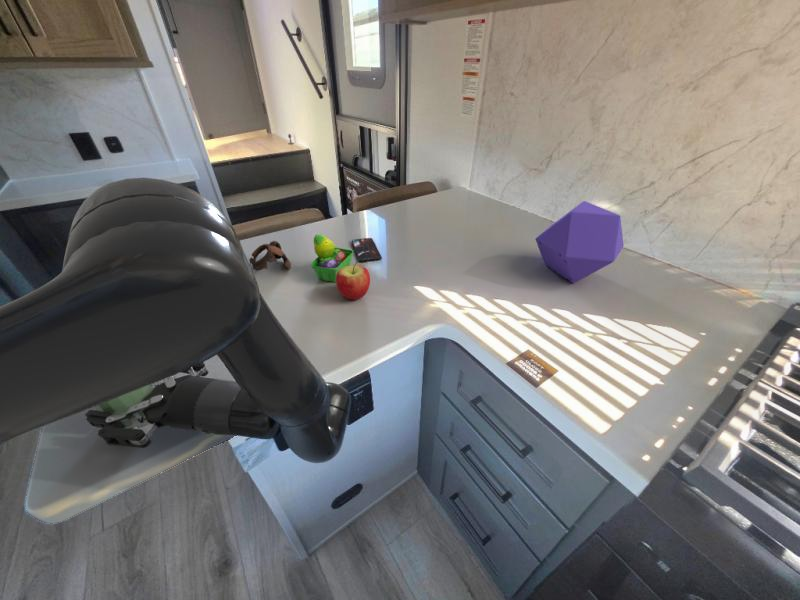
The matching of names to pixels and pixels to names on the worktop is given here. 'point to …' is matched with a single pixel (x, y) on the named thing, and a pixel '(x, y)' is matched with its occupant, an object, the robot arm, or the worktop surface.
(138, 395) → the tumbler
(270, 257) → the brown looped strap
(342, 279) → the apple
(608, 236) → the purple polyhedron
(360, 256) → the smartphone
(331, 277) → the fruit basket
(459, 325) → the worktop surface
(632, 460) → the worktop surface
